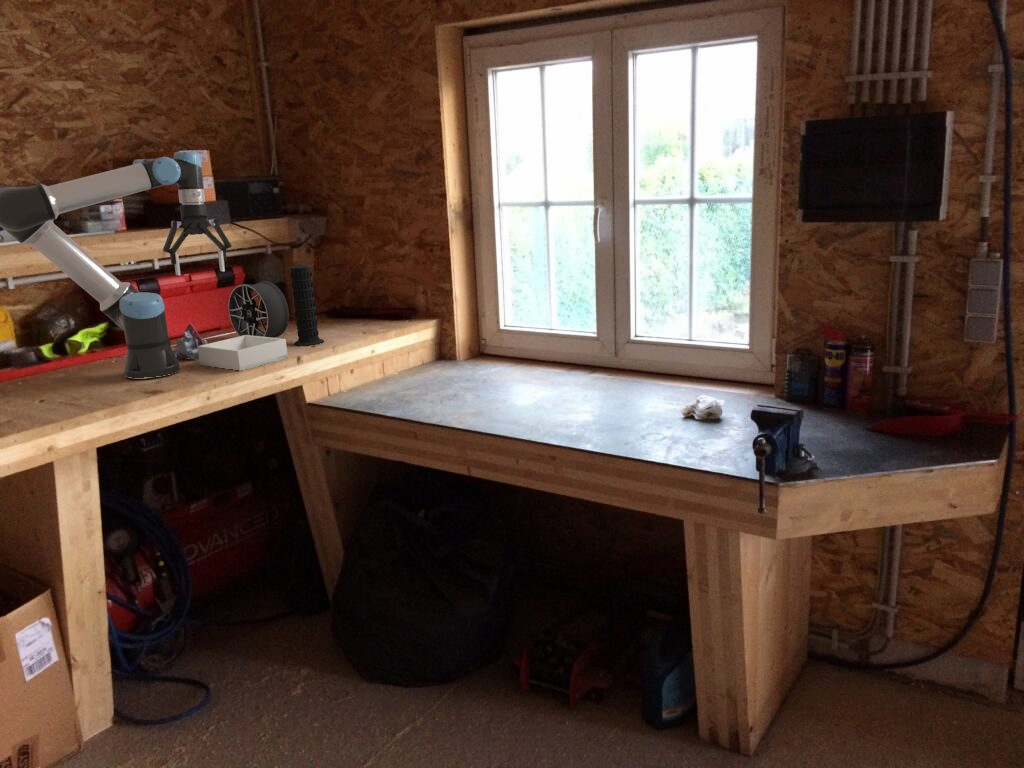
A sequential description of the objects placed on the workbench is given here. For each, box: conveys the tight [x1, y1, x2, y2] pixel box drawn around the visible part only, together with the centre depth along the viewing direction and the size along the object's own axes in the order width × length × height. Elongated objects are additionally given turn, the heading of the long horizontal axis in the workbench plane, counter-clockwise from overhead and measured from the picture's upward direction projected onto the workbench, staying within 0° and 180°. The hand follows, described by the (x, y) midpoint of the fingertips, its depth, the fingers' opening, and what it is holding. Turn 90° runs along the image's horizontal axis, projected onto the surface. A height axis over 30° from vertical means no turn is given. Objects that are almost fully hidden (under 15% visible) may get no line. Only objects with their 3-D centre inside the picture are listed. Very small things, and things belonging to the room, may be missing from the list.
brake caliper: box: [171, 323, 209, 360], centre depth 271 cm, size 11×11×12 cm
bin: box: [197, 335, 289, 372], centre depth 262 cm, size 18×19×6 cm
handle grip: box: [289, 263, 325, 347], centre depth 283 cm, size 10×26×10 cm
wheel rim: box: [227, 280, 290, 338], centre depth 293 cm, size 20×9×20 cm, turn 56°
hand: (200, 273), depth 268 cm, fingers open, 13 cm apart
